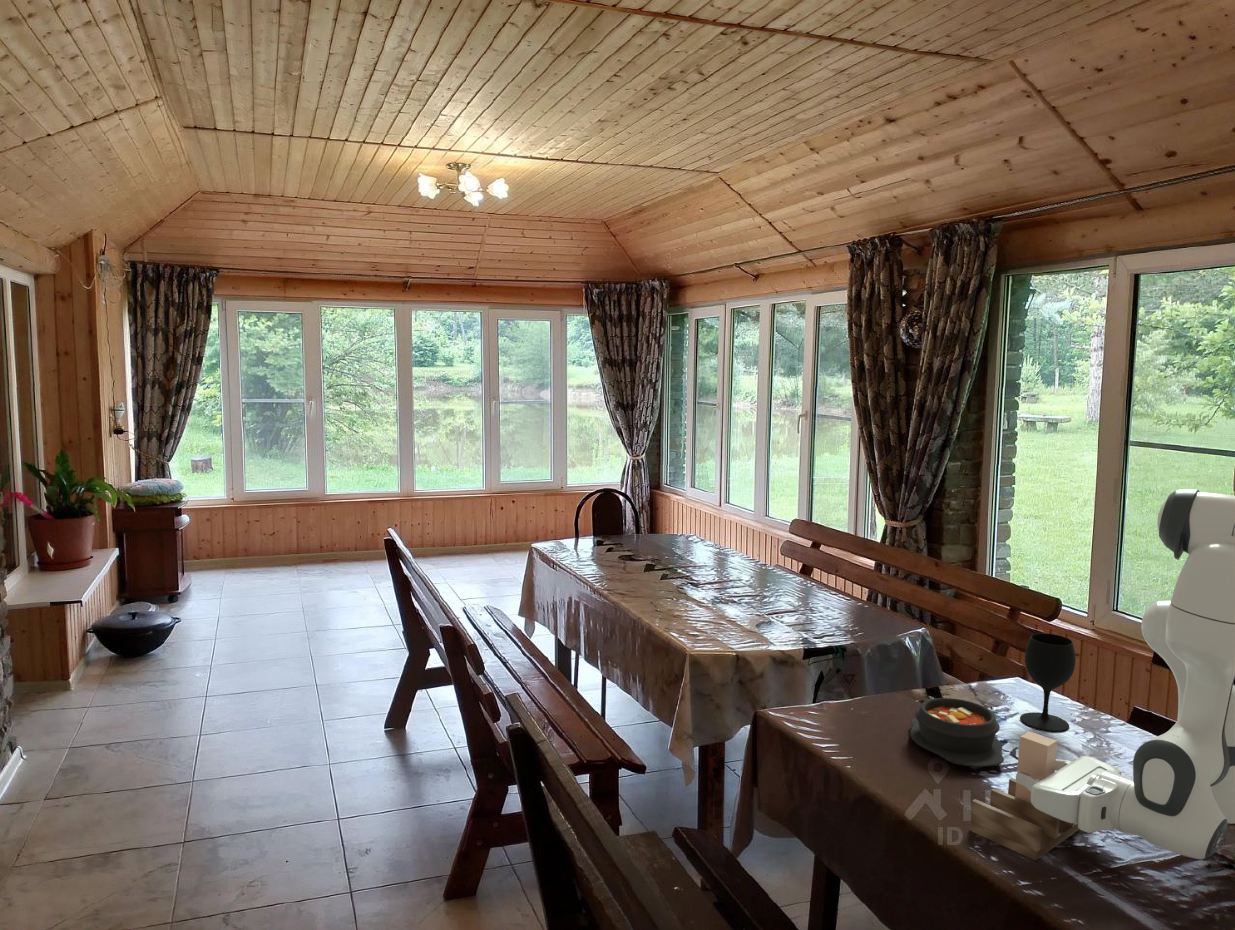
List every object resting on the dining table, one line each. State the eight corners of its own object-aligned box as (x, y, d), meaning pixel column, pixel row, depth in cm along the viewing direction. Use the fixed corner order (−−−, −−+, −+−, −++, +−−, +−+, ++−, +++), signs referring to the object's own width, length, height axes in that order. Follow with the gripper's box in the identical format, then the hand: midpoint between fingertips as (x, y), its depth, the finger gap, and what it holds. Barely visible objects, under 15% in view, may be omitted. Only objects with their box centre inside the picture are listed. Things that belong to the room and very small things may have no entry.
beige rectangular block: (1050, 820, 162) (1057, 740, 160) (1041, 826, 160) (1048, 746, 158) (1023, 808, 166) (1029, 731, 164) (1013, 814, 164) (1020, 736, 162)
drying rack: (1091, 820, 165) (1094, 792, 165) (1035, 860, 152) (1038, 829, 151) (1027, 794, 175) (1029, 767, 174) (969, 830, 161) (971, 801, 161)
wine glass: (1055, 713, 214) (1062, 632, 211) (1078, 732, 203) (1086, 647, 201) (1011, 713, 213) (1018, 631, 211) (1033, 732, 203) (1040, 646, 200)
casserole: (1026, 775, 183) (1029, 735, 182) (936, 776, 182) (939, 736, 181) (971, 723, 208) (973, 688, 206) (891, 724, 206) (893, 688, 205)
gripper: (1139, 764, 158) (1059, 736, 169) (1086, 799, 145) (1003, 767, 156) (1135, 798, 159) (1056, 768, 170) (1083, 836, 146) (1001, 802, 157)
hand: (1030, 768), depth 163 cm, fingers open, 8 cm apart
